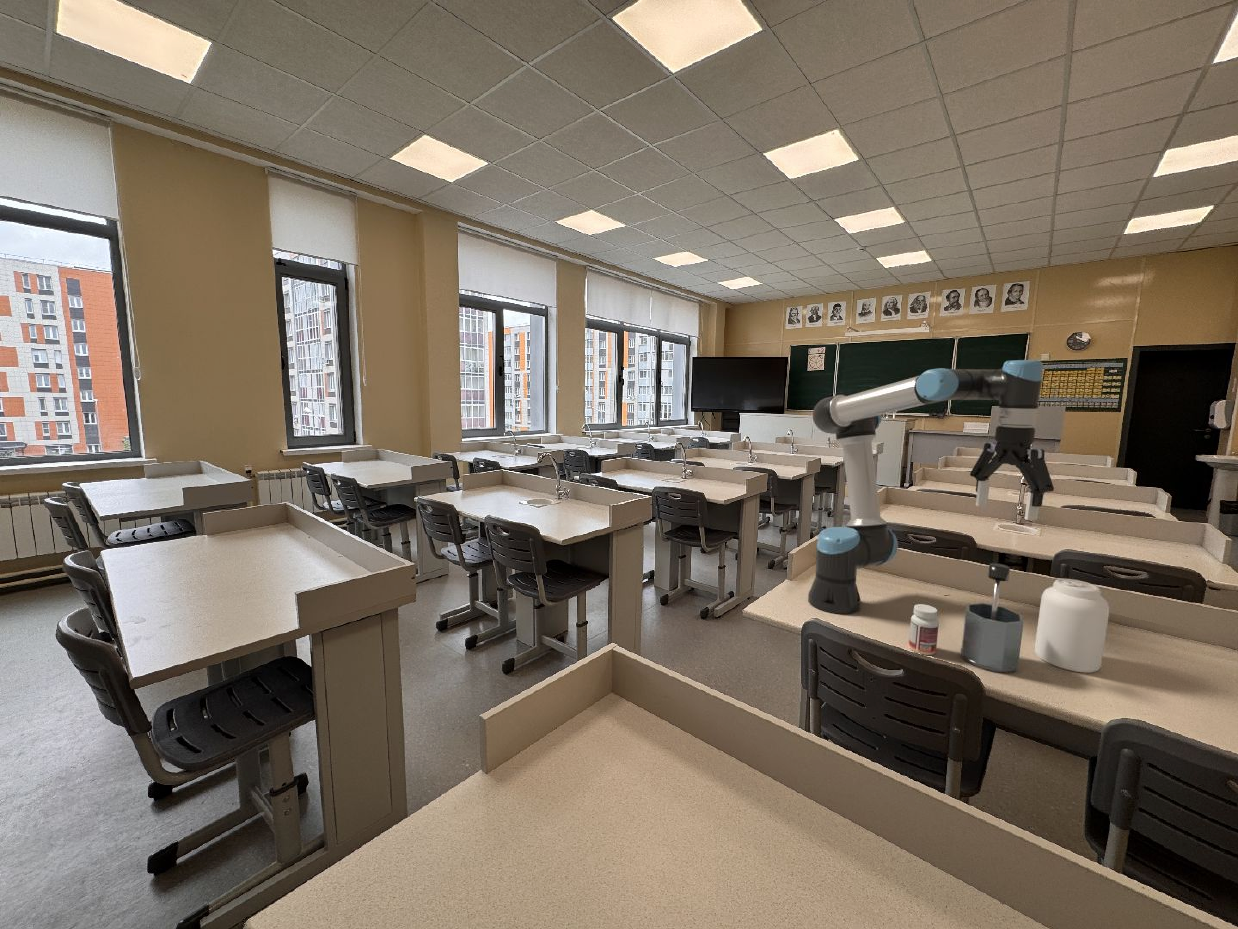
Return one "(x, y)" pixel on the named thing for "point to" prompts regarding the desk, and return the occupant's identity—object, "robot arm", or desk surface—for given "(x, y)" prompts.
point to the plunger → (997, 583)
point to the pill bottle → (924, 629)
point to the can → (1072, 626)
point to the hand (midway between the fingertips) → (1004, 512)
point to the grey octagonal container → (992, 638)
